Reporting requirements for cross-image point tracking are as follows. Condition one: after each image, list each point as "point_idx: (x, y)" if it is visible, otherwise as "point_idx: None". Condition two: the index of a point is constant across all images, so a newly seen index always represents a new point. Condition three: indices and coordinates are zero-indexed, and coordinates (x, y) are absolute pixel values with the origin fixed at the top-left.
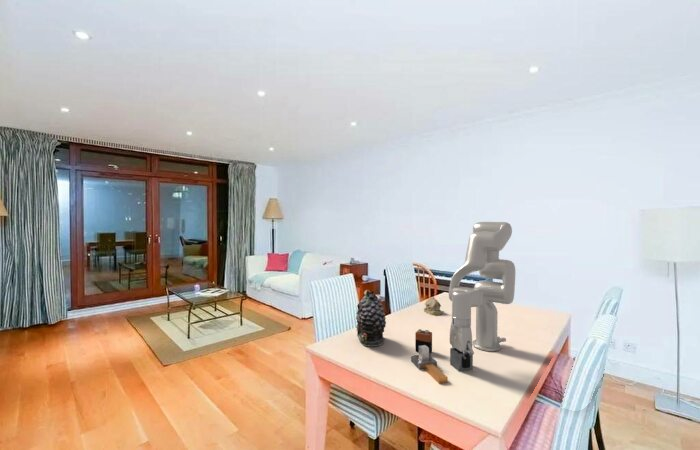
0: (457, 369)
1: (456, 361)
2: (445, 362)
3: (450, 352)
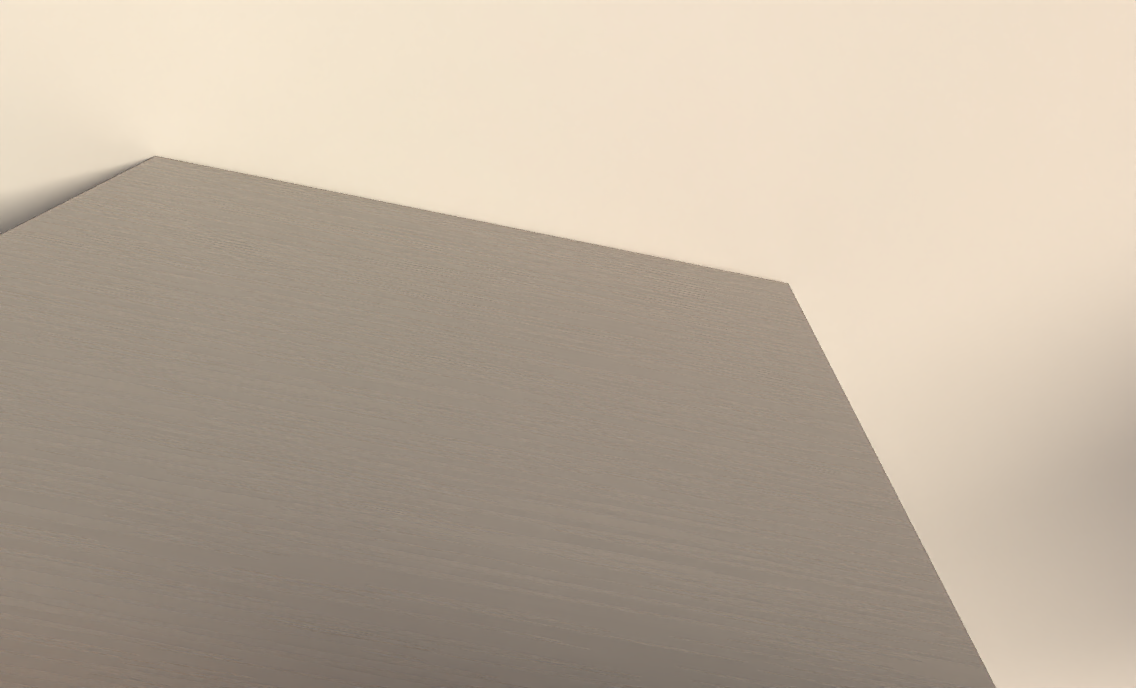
0: (232, 182)
1: (194, 314)
2: (1031, 239)
3: (915, 607)
